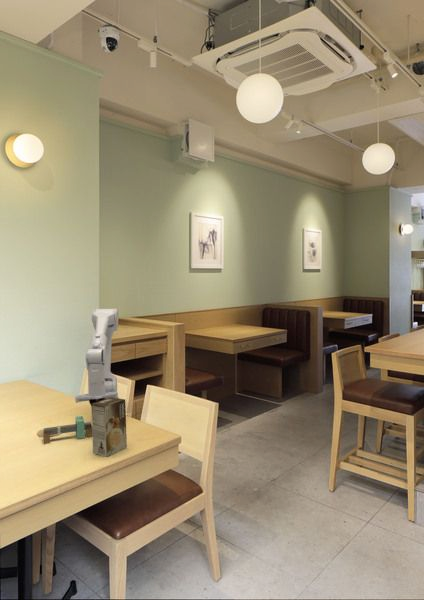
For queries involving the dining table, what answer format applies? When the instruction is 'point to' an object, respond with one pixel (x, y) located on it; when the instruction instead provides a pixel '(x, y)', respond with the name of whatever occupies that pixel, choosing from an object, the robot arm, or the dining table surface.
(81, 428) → the green rectangular loop
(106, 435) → the coffee box
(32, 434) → the dining table surface
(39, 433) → the coaster
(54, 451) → the dining table surface
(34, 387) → the dining table surface
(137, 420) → the dining table surface
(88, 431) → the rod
